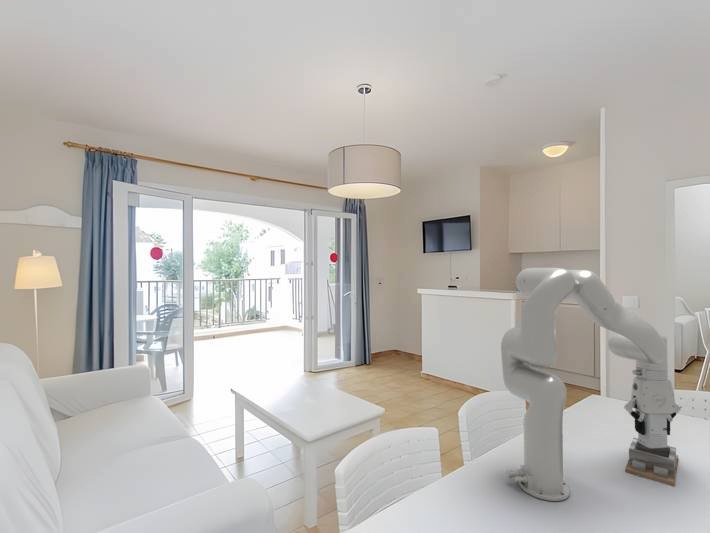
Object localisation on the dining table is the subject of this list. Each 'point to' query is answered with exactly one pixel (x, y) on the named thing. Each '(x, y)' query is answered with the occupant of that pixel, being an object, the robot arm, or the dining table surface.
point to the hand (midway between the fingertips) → (652, 432)
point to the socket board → (653, 462)
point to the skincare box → (654, 431)
